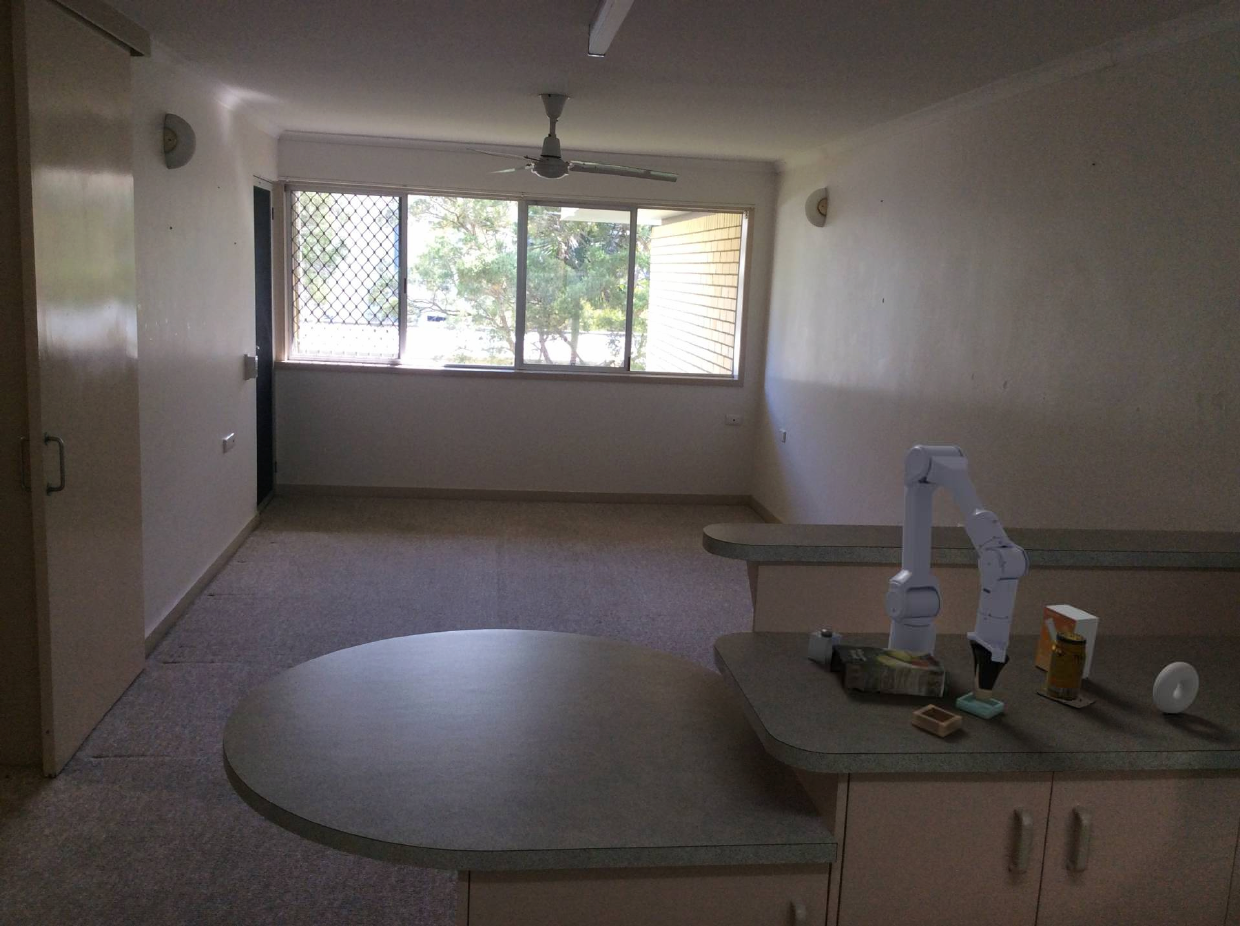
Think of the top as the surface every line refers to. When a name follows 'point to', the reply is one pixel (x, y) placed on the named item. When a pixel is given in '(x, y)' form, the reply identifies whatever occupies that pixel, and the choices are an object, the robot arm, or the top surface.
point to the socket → (936, 720)
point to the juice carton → (889, 670)
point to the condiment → (1066, 666)
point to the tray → (979, 706)
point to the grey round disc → (1167, 682)
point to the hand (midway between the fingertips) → (983, 685)
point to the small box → (1065, 621)
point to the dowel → (980, 691)
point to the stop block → (823, 645)
